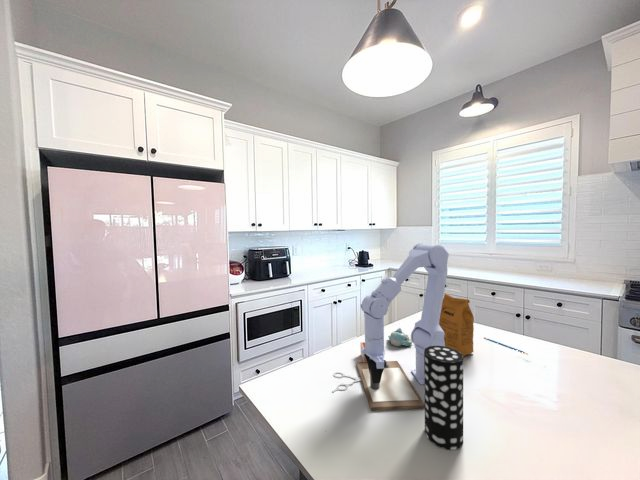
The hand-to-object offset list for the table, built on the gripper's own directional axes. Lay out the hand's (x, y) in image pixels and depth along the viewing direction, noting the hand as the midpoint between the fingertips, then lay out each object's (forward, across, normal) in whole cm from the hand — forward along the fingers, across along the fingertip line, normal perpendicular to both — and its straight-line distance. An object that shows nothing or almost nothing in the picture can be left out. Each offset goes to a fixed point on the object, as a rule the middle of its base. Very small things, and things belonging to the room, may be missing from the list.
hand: (374, 379), depth 80 cm
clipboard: (+4, -3, +4) cm, 7 cm away
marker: (+2, 0, 0) cm, 2 cm away
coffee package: (+4, -24, +38) cm, 45 cm away
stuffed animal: (+4, -32, +18) cm, 37 cm away
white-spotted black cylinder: (+4, +18, +12) cm, 22 cm away
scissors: (+4, -6, -3) cm, 8 cm away
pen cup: (+4, -20, +3) cm, 20 cm away
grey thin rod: (+4, -26, +60) cm, 65 cm away
